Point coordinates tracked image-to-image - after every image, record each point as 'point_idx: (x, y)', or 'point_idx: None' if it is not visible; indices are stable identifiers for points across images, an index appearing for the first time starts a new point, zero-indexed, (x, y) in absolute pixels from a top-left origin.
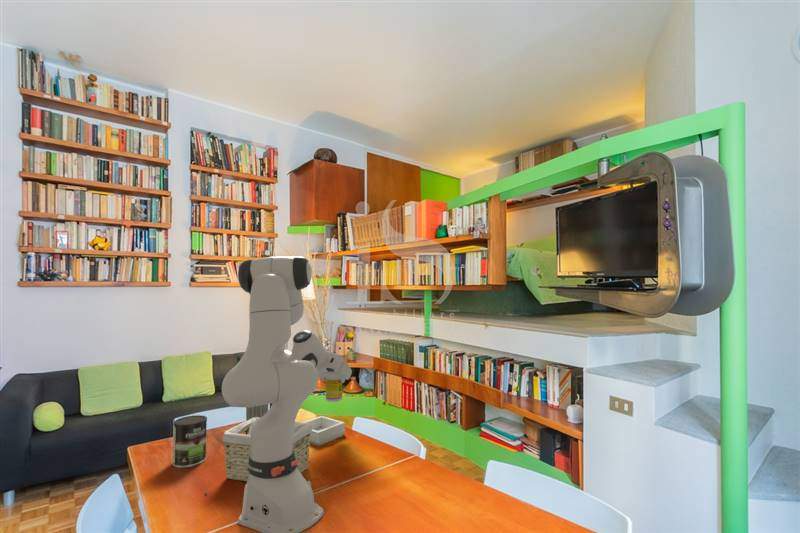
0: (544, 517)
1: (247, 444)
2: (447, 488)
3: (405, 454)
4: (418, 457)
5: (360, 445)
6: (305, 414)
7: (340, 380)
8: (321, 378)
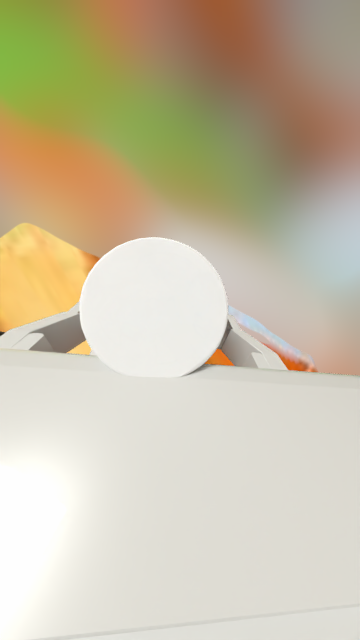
0: None
1: None
2: None
3: (298, 369)
4: (317, 372)
5: (225, 359)
6: (50, 242)
7: (219, 346)
8: (71, 345)
